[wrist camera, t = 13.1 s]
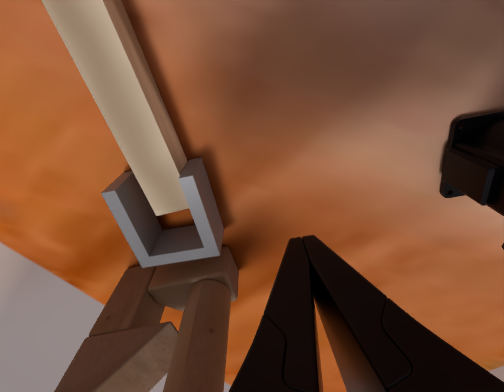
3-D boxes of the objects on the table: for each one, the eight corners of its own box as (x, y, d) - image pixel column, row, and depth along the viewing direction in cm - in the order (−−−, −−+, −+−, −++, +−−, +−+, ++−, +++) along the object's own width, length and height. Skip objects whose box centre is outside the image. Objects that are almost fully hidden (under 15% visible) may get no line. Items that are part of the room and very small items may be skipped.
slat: (27, -236, 11) (-39, -322, 9) (200, 188, 22) (193, 207, 19) (-30, -208, 12) (-109, -283, 9) (167, 196, 22) (156, 216, 19)
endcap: (156, 240, 24) (142, 267, 21) (123, 172, 21) (100, 193, 17) (224, 229, 23) (220, 255, 20) (201, 157, 20) (192, 175, 17)
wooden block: (125, 267, 26) (-78, 611, 10) (228, 243, 24) (186, 600, 8) (142, 292, 27) (-6, 619, 11) (240, 271, 26) (223, 610, 10)
